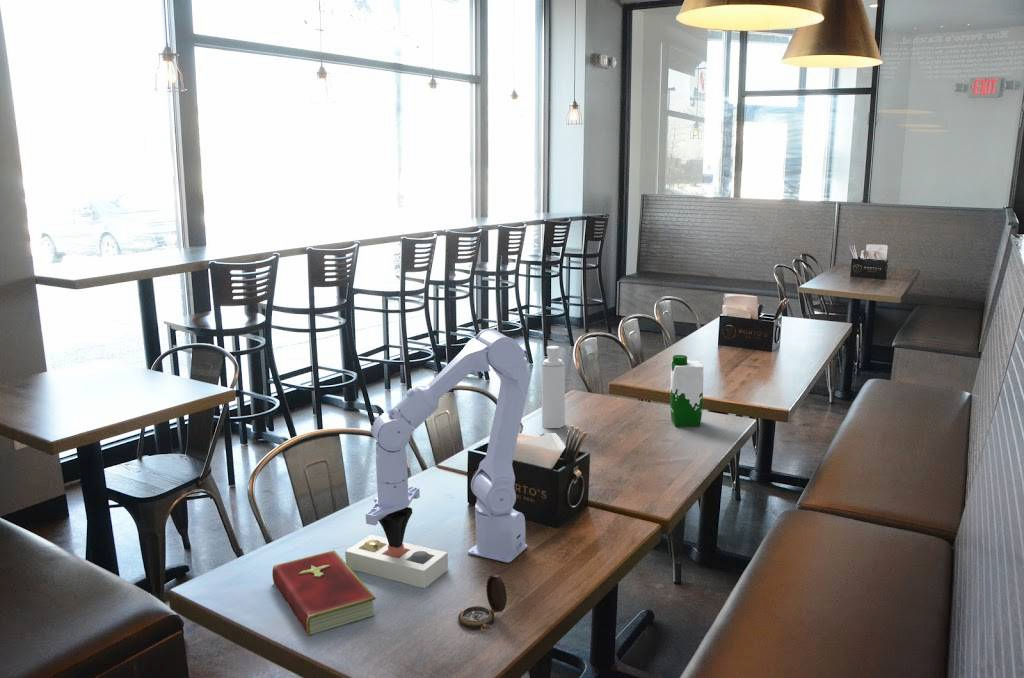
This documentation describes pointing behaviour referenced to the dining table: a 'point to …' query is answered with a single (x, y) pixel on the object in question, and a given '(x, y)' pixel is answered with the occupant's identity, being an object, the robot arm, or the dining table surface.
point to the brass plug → (372, 545)
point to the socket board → (397, 563)
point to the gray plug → (420, 557)
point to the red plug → (396, 551)
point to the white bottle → (553, 389)
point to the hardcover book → (323, 591)
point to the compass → (480, 615)
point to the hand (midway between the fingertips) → (395, 545)
